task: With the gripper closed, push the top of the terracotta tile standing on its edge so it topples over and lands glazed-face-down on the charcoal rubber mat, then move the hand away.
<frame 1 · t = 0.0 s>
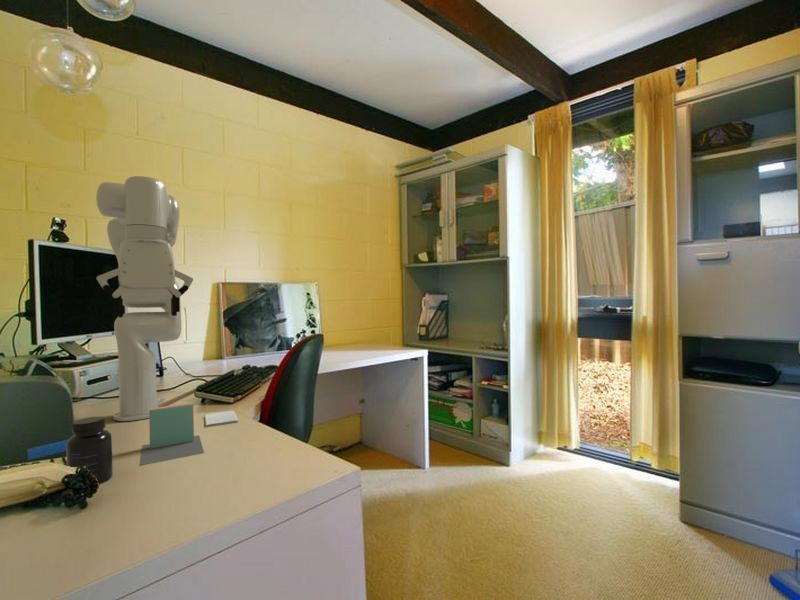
hand: (148, 316, 84), 31 cm above the table, tool pointing down, fingers open, 9 cm apart
hard drive: (220, 423, 113), on the table
tile: (172, 444, 93), resting on mat
mat: (172, 450, 90), on the table
supplement bottle: (90, 483, 74), on the table
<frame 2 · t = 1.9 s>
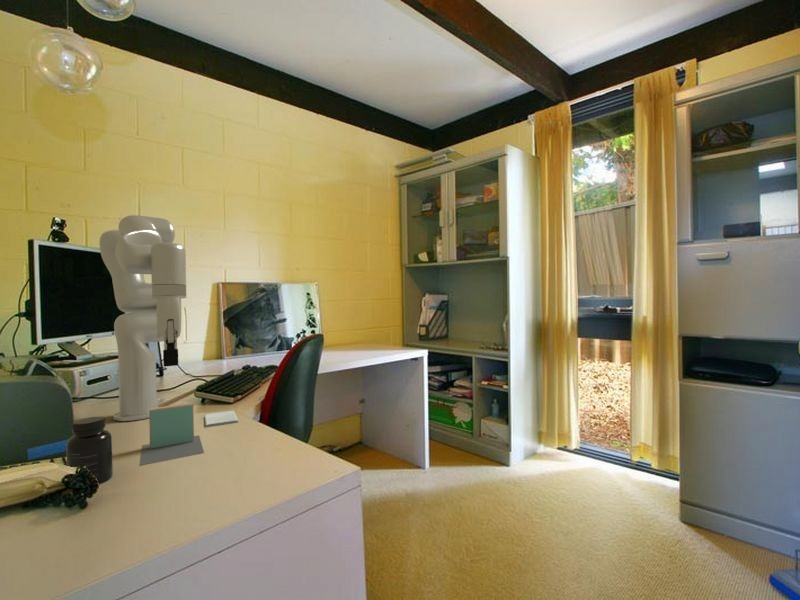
hand: (170, 365, 98), 18 cm above the table, tool pointing down, fingers closed
nothing on the table moved.
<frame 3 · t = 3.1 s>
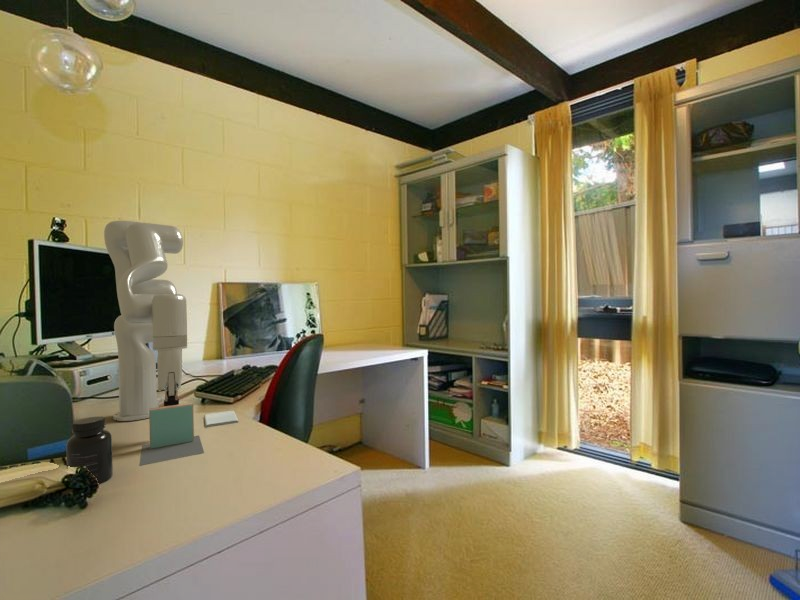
hand: (171, 415, 98), 6 cm above the table, tool pointing down, fingers closed
nothing on the table moved.
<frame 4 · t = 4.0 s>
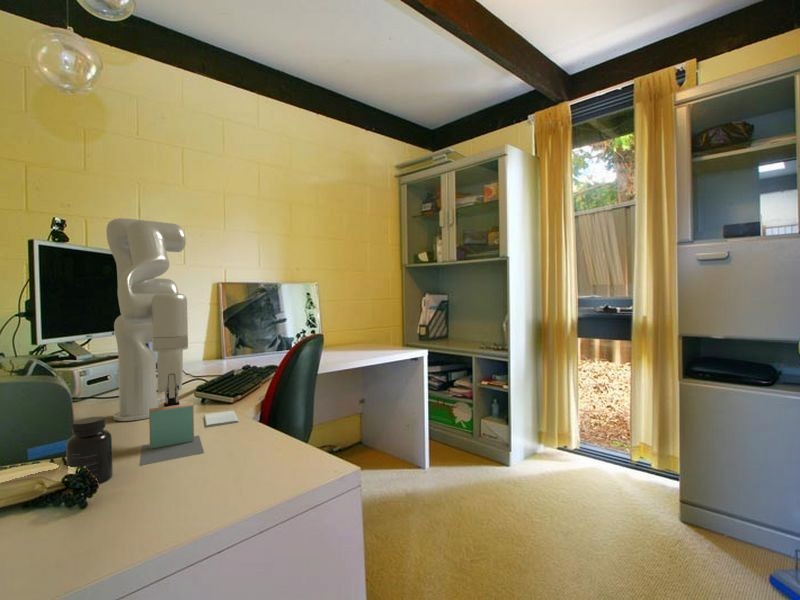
hand: (172, 418, 95), 6 cm above the table, tool pointing down, fingers closed
tile: (172, 443, 93), resting on mat, tilted 5°, touching gripper
everything else where it was.
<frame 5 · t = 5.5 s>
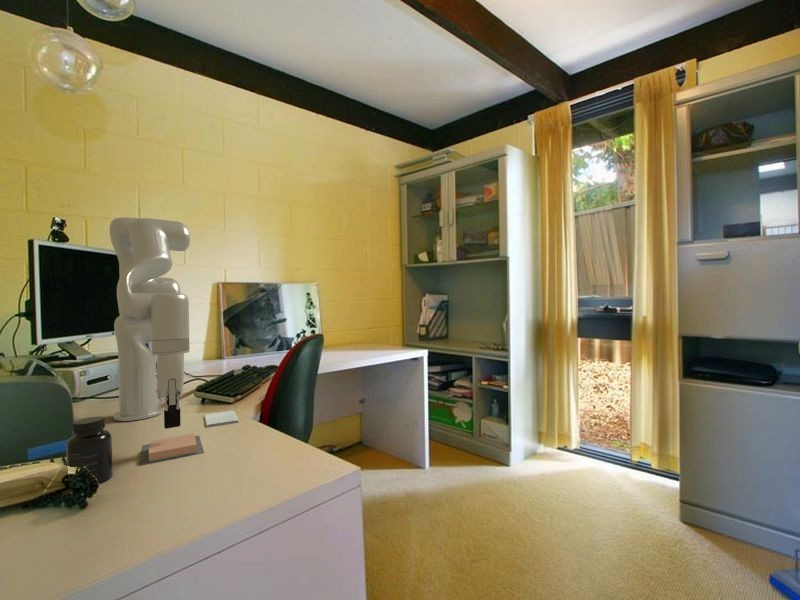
hand: (172, 426, 90), 6 cm above the table, tool pointing down, fingers closed
tile: (172, 441, 92), point 1 cm above the table, tilted 90°, touching mat
everything else where it was.
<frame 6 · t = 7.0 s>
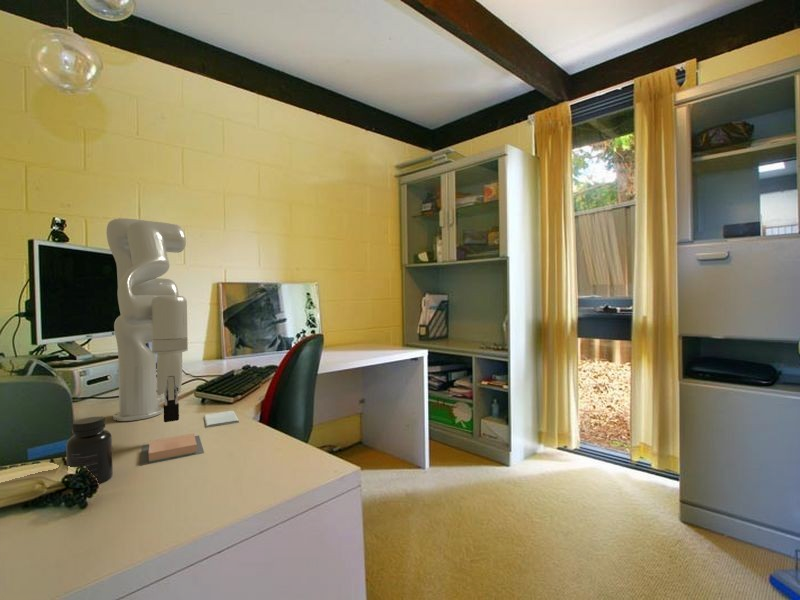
hand: (171, 420, 96), 5 cm above the table, tool pointing down, fingers closed
nothing on the table moved.
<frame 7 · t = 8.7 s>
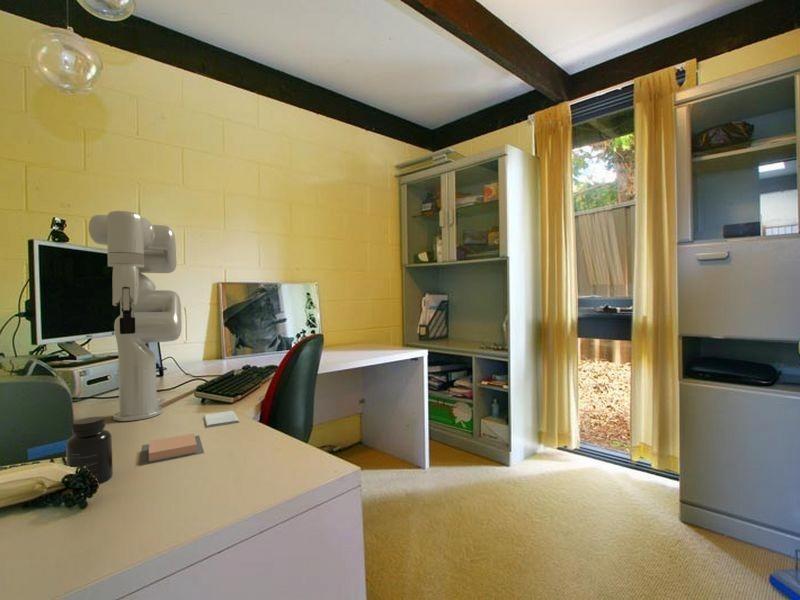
hand: (127, 333, 99), 27 cm above the table, tool pointing down, fingers closed
nothing on the table moved.
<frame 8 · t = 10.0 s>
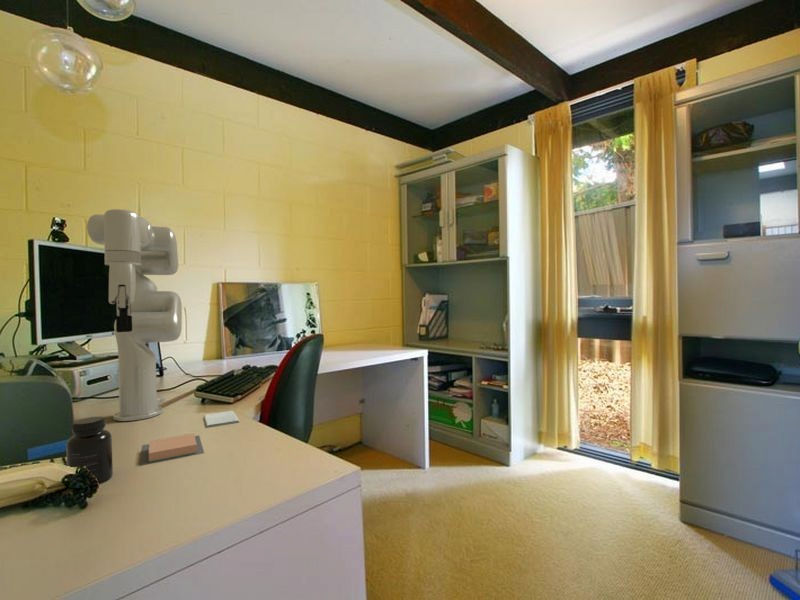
hand: (124, 331, 99), 27 cm above the table, tool pointing down, fingers closed
nothing on the table moved.
at the end: tile tilted 90°; tile inside the target area on the mat (2.6 cm from its centre), point 1.4 cm above the mat's base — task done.
